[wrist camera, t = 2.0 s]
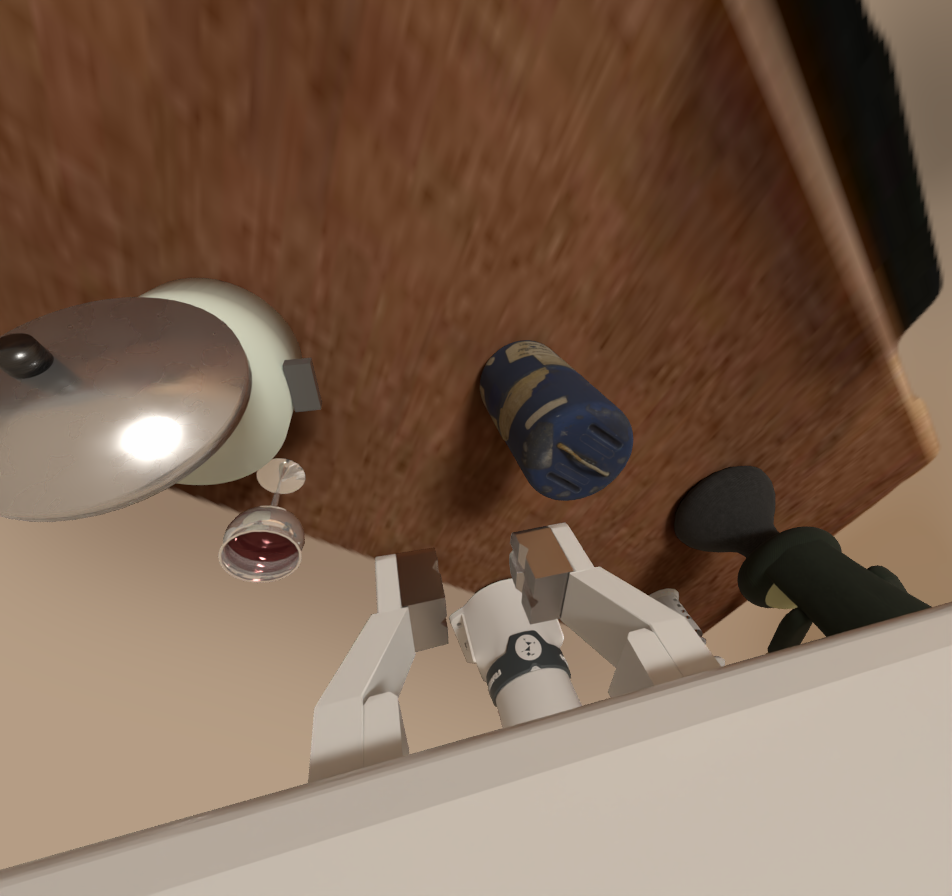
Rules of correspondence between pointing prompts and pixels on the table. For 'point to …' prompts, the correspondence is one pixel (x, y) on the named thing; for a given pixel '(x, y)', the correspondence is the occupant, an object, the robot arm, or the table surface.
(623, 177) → the table surface
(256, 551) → the wineglass
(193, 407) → the lid
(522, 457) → the canister
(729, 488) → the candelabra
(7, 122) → the table surface
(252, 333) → the pot
